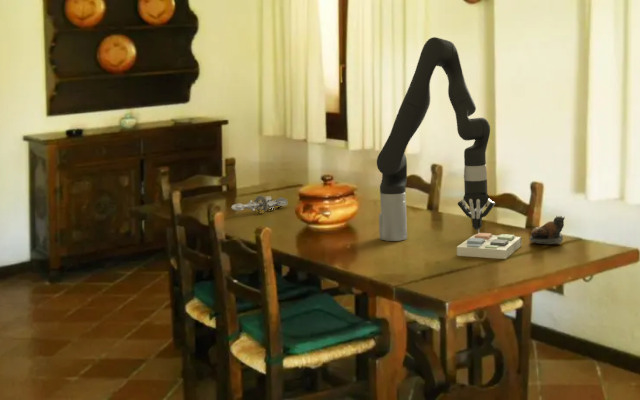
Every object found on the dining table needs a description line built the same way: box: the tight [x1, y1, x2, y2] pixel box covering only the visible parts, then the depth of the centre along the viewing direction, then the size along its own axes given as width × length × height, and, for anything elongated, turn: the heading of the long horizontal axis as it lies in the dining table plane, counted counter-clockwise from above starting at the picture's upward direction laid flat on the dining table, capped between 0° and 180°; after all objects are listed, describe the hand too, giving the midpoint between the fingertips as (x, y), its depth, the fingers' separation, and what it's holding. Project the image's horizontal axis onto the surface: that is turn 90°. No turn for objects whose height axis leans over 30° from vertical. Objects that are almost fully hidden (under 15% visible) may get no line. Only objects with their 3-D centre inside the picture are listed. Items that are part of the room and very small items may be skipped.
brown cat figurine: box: [529, 215, 565, 245], centre depth 308 cm, size 12×7×10 cm, turn 56°
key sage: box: [497, 233, 515, 241], centre depth 306 cm, size 5×5×2 cm
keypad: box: [456, 233, 522, 260], centre depth 303 cm, size 16×20×3 cm
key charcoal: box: [490, 239, 508, 246], centre depth 299 cm, size 5×5×2 cm
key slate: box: [467, 237, 485, 245], centre depth 303 cm, size 5×5×2 cm
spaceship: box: [230, 195, 289, 212], centre depth 386 cm, size 8×35×8 cm
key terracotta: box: [474, 232, 493, 240], centre depth 310 cm, size 5×5×2 cm
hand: (477, 229), depth 302 cm, fingers closed
